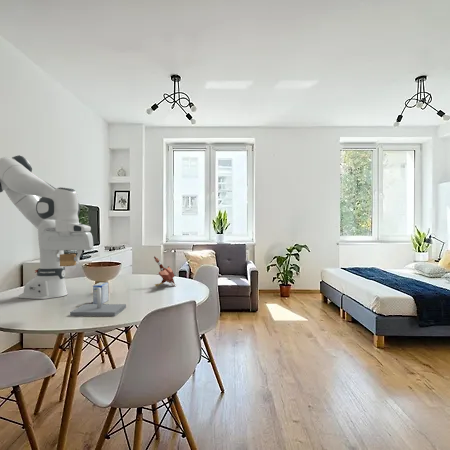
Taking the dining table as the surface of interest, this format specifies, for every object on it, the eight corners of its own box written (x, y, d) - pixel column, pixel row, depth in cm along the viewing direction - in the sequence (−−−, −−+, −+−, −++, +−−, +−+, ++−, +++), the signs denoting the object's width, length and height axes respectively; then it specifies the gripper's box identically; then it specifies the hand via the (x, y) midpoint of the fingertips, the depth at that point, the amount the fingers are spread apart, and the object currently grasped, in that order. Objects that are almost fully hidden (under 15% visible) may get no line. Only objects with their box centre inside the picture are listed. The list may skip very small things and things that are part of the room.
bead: (56, 266, 144) (56, 255, 144) (64, 264, 150) (64, 253, 150) (71, 266, 144) (71, 255, 143) (78, 264, 150) (78, 253, 149)
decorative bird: (150, 276, 223) (159, 253, 222) (177, 287, 222) (186, 265, 222) (137, 284, 194) (147, 258, 194) (168, 297, 194) (179, 271, 193)
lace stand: (70, 315, 143) (69, 290, 143) (85, 307, 157) (85, 284, 157) (114, 316, 142) (114, 290, 142) (126, 307, 156) (125, 284, 156)
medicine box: (99, 300, 171) (99, 282, 171) (108, 300, 171) (108, 282, 171) (92, 304, 163) (92, 285, 163) (102, 304, 163) (102, 285, 163)
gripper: (38, 228, 144) (38, 262, 144) (87, 227, 143) (88, 262, 143) (47, 227, 150) (47, 260, 151) (94, 226, 149) (95, 260, 149)
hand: (68, 261), depth 147 cm, fingers closed on bead, 6 cm apart
